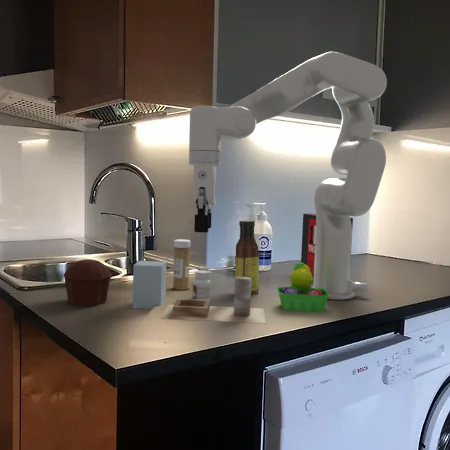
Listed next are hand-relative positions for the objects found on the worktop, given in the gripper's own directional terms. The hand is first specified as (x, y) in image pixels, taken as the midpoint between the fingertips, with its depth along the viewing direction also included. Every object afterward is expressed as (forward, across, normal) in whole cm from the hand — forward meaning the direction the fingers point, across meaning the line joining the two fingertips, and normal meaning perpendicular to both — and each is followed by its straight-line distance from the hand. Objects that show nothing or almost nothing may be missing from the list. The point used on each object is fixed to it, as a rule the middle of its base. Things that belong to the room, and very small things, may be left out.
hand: (203, 230), depth 123 cm
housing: (+18, -5, +12) cm, 22 cm away
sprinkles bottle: (+18, +15, +7) cm, 25 cm away
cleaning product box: (+19, +40, -36) cm, 57 cm away
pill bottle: (+18, 0, 0) cm, 18 cm away
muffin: (+18, -4, +27) cm, 33 cm away
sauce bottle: (+18, +10, -11) cm, 24 cm away
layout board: (+18, -13, -4) cm, 22 cm away
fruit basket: (+18, -4, -24) cm, 31 cm away
